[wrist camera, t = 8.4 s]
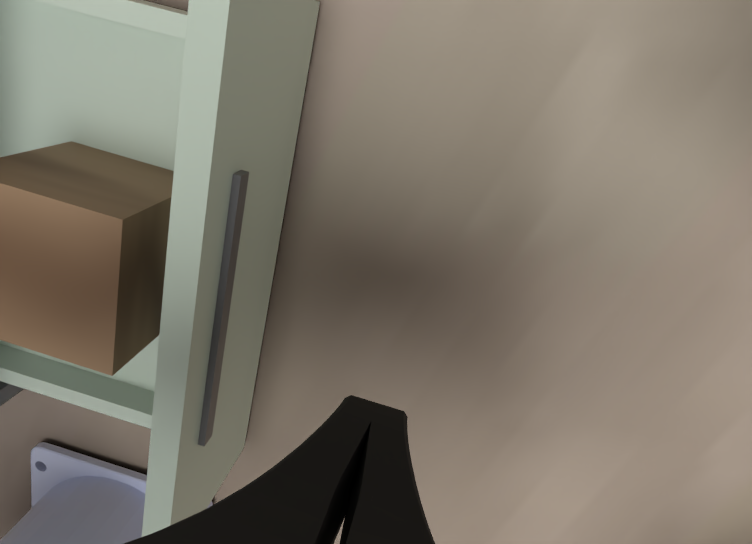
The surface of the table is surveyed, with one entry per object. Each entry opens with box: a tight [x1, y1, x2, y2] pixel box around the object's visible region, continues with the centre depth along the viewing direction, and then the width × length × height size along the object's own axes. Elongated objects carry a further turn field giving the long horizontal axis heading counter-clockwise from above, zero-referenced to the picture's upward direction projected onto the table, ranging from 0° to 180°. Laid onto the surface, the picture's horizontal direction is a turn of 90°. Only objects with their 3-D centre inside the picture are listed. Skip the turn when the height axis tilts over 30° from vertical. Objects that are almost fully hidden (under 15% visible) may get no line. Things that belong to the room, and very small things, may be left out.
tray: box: [0, 0, 320, 537], centre depth 17 cm, size 16×11×6 cm
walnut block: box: [0, 141, 174, 376], centre depth 17 cm, size 5×5×4 cm
